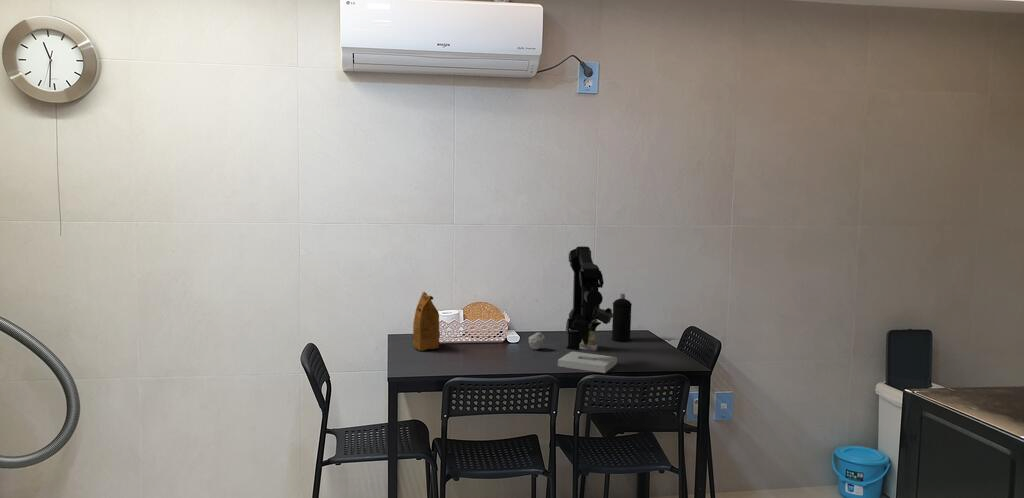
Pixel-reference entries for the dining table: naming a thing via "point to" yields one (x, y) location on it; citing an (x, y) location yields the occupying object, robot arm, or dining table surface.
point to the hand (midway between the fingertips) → (588, 343)
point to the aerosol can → (621, 320)
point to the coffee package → (426, 324)
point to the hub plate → (587, 362)
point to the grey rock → (536, 340)
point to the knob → (589, 342)
